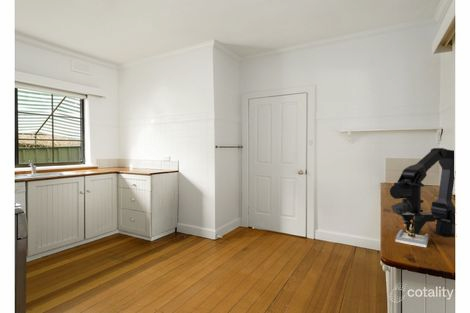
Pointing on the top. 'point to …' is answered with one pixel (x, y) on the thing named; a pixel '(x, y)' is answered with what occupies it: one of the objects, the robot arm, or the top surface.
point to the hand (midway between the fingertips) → (412, 232)
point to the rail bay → (412, 239)
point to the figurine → (410, 229)
